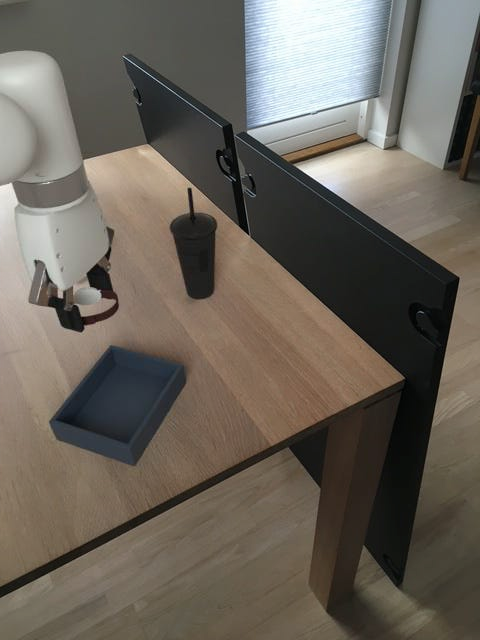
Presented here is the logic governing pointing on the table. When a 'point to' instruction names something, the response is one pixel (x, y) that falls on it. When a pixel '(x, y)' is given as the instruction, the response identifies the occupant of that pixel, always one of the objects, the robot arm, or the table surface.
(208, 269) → the drinking cup
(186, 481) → the table surface
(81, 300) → the watch
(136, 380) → the tray
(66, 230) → the robot arm
